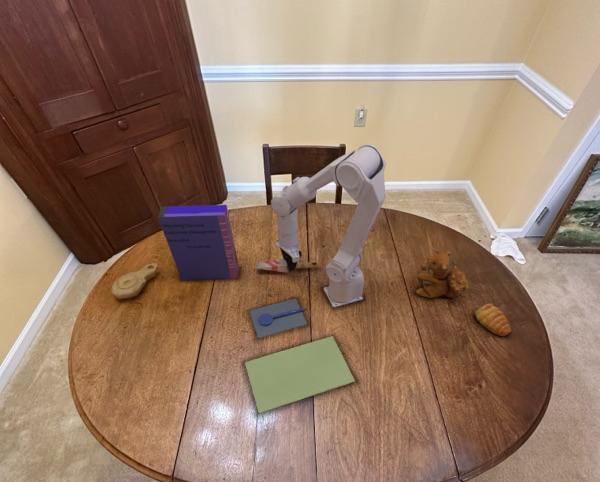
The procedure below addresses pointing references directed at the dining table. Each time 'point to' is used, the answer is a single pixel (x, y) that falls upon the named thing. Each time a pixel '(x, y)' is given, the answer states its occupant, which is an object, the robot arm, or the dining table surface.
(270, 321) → the spoon
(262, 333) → the spoon pad
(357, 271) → the robot arm
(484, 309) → the pastry
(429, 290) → the stuffed squirrel
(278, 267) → the paintbrush
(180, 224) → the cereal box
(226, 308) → the dining table surface
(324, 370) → the brush mat
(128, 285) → the oil lamp
